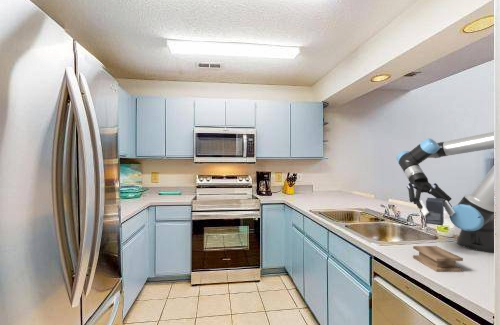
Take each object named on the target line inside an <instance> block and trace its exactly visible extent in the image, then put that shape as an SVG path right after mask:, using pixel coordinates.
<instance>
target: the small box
mask: <svg viewBox="0 0 500 325" xmlns="http://www.w3.org/2000/svg"><path fill="white" fill-rule="evenodd" d="M425 207H426V208H427V210H428V212H429V213H428V214H427V215H426V216H425V224H429V225H435V226H436V225H437V226H444V221H445V220H444V219H445V218H444V210H445V208H444V199H441V198H436V197H426V199H425Z"/></svg>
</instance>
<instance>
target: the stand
mask: <svg viewBox="0 0 500 325" xmlns="http://www.w3.org/2000/svg"><path fill="white" fill-rule="evenodd" d="M412 248H413V250H415V251H417V252H418V255H415V254H414V255H412V258H413V259H414V260H416V261H418V262H419V263H421V264H423V265H425V266H426V267H428V268H429V269H431V270H433V271H434V272H436V273H444V272H446V273H448V272H454V273H455V272H457V273H458V272H460V273H462V272H463V270H464V268H462V267H460V266H458V265H456V262H464V258H463V257H461V256H459V255H456V254H454V253H452V252H450V251H449V250H446V249H443V248H442V247H439V246H438V245H413V247H412Z"/></svg>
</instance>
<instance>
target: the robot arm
mask: <svg viewBox="0 0 500 325" xmlns="http://www.w3.org/2000/svg"><path fill="white" fill-rule="evenodd" d="M494 132H495V131H491V132H486V133H481V134H475V135H471V136H466V137H461V138H456V139H451V140H446V141H441V142H436V141H435V140H434V139H433V138H429V137H428V138H426V139H424V140H423V141H421V142H420V143H419V144H418V145H417V146H415V147H414V148H413V149H412V150H410V151H408V150H404V151H401V152H399V153H398V154H397V156H396V160H397V163H398V165H399V166H400V168H401V170H402V171H403V174H404V175H405V176H406V178H407V180H408V182H409V183H408V184H407V186H406V188H407V190H408V198H409V202H410V203H413V205H416V206H417V208H418V209H419V210H420V211H421V213H422V214H423V216H424V217H426V215H427V214H428V213H429V212H428V210H427V208H426V204H425V203H424V201H423V200H422V199H421V194H423V193H427V194H428V195H431V196H433V198H441V199H444V210H445V211H446V212H447V213H448V215H449V219H450V220H449V221H450V222H451V223H452V224H453V225H454V226H455V227H456V228H457V229H459V230H460V232H459V235H458V236H457V238H456V244H457V245H459V246H461V247H464V248H466V249H469V250H474V251H479V252H486V253H495V252H494V165H493V166H492V167H491V168H490V170H489V171H488V172H487V174H486V175H485V176H484V177H483V178H482V180H481V181H480V182H479V183H478V185H477V187H475V189H474V190H473V191H472V192H471V193H469V194H465V195H463V197H462V198H461V199H460V201H459V202H458V203H457V204H456V205H454V206H452V205H451V203H450V201H451V200H452V197H451V196H450V195H448V194H447V193H446V192H445V191H444V190H443V189H441V187H439V185H438V184H437V183H436V182H435V183H433V184H431V183H430V182H429V178H428V177H427V175H426V174H425V172H424V171H423V169H422V168H421V166H420V164H421V163H423V162H424V161H425V160H426V159H440V158H442V157H447V156H455V155H462V154H468V153H474V152H479V151H485V150H487V151H488V150H492V149H495V148H494Z"/></svg>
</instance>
